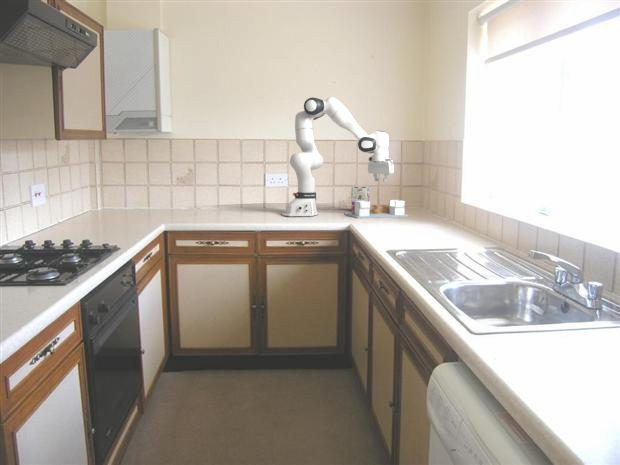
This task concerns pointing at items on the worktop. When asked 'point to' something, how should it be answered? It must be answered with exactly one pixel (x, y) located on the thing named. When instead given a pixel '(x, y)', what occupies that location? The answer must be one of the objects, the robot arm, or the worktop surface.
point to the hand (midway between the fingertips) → (380, 181)
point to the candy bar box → (360, 194)
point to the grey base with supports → (364, 208)
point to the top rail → (377, 209)
